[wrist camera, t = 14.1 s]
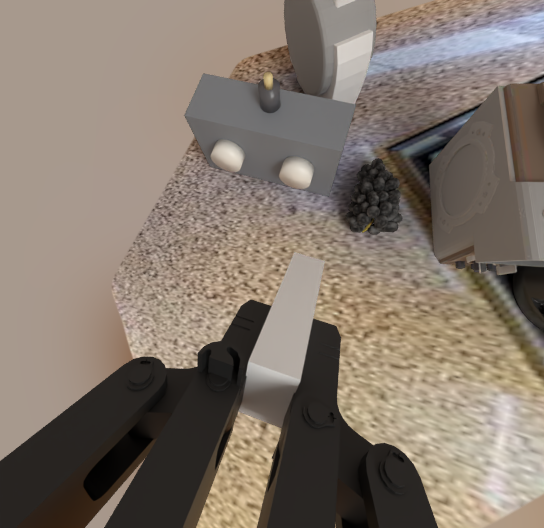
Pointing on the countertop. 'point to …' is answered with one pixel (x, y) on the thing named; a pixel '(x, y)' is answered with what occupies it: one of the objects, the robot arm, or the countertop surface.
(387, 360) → the countertop surface
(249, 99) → the block
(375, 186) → the fruit
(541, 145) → the portable television
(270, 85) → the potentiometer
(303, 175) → the knob
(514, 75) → the countertop surface
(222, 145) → the knob
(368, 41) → the grey rounded slab
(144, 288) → the countertop surface
